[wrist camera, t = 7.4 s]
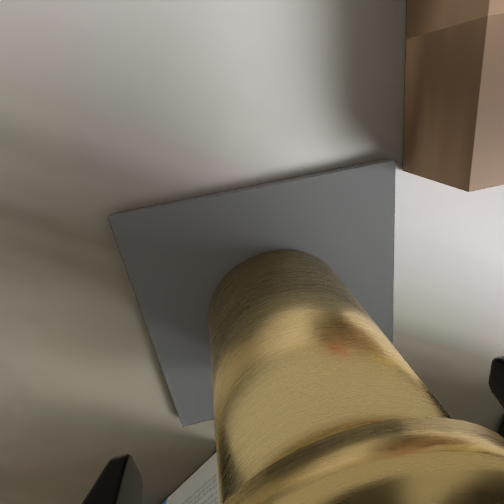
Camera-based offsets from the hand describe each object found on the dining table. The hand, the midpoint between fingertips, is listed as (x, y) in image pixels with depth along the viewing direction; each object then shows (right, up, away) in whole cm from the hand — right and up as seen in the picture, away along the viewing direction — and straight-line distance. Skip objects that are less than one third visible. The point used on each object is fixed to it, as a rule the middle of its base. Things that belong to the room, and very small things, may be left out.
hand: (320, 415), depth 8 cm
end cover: (-1, +2, +4) cm, 5 cm away
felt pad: (-1, +2, +4) cm, 5 cm away
